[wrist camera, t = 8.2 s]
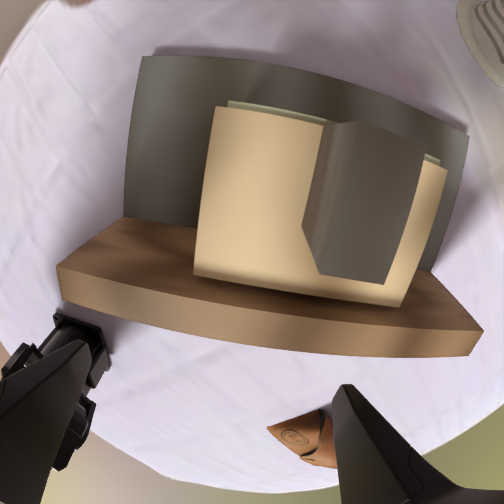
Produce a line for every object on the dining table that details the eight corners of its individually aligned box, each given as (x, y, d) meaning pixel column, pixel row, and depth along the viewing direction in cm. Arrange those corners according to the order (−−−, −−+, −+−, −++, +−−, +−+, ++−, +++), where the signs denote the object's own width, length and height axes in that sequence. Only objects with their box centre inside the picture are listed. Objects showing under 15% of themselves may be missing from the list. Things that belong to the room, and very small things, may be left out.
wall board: (129, 243, 20) (63, 307, 12) (147, 59, 15) (73, 22, 6) (414, 292, 21) (464, 361, 13) (462, 135, 15) (545, 150, 7)
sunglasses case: (259, 427, 29) (285, 460, 23) (301, 391, 31) (333, 419, 25) (314, 465, 35) (336, 487, 29) (344, 438, 37) (369, 458, 31)
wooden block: (217, 224, 18) (166, 334, 8) (235, 113, 15) (188, 76, 5) (359, 251, 19) (432, 362, 9) (387, 150, 16) (511, 182, 6)
